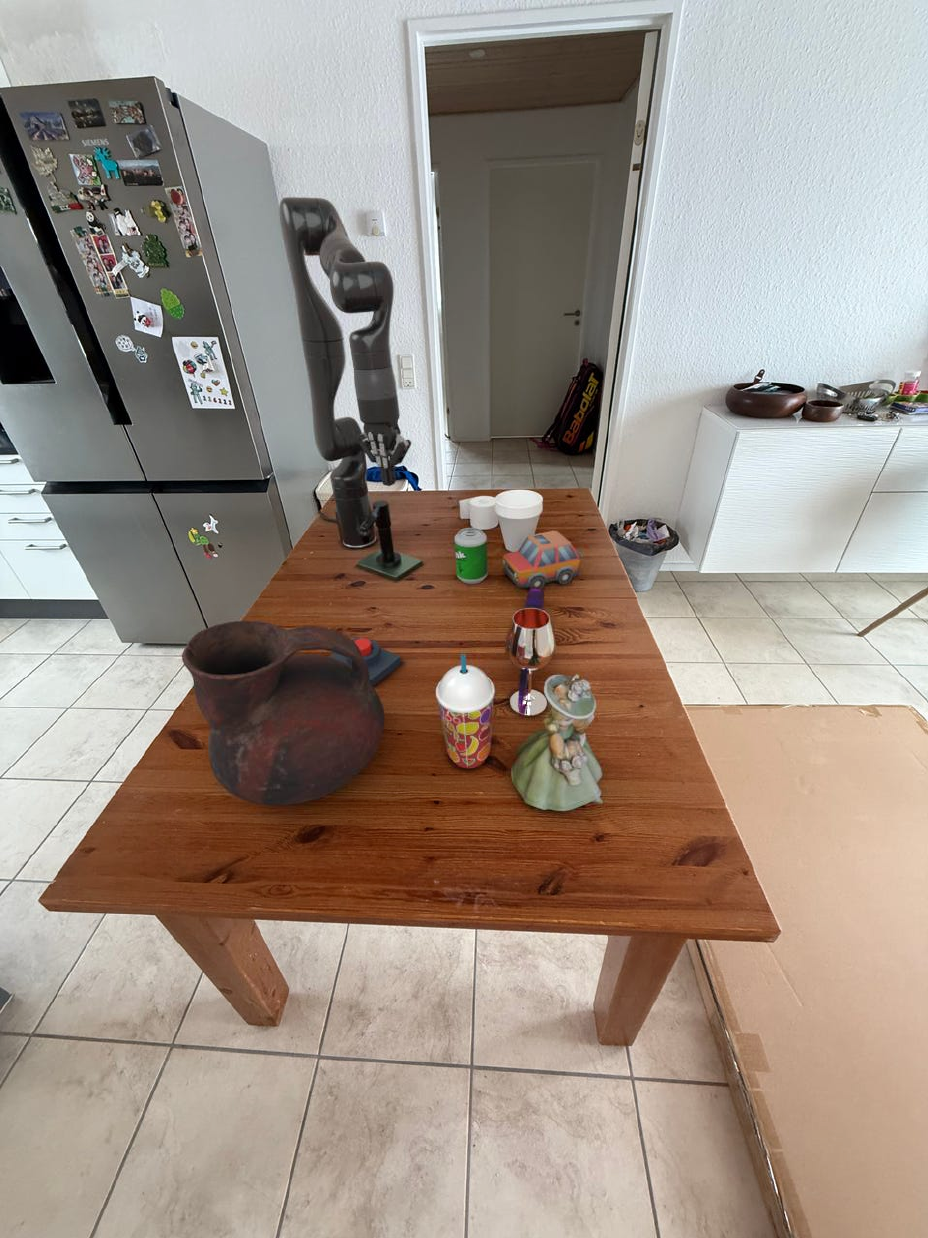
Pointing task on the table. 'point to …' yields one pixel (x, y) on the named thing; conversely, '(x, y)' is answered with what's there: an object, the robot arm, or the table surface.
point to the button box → (375, 662)
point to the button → (364, 646)
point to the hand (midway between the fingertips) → (389, 484)
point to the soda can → (471, 555)
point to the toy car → (542, 561)
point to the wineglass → (530, 654)
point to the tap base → (389, 559)
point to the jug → (283, 710)
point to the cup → (518, 516)
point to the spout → (376, 520)
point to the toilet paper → (479, 512)
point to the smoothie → (466, 713)
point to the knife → (536, 601)
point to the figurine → (560, 751)
